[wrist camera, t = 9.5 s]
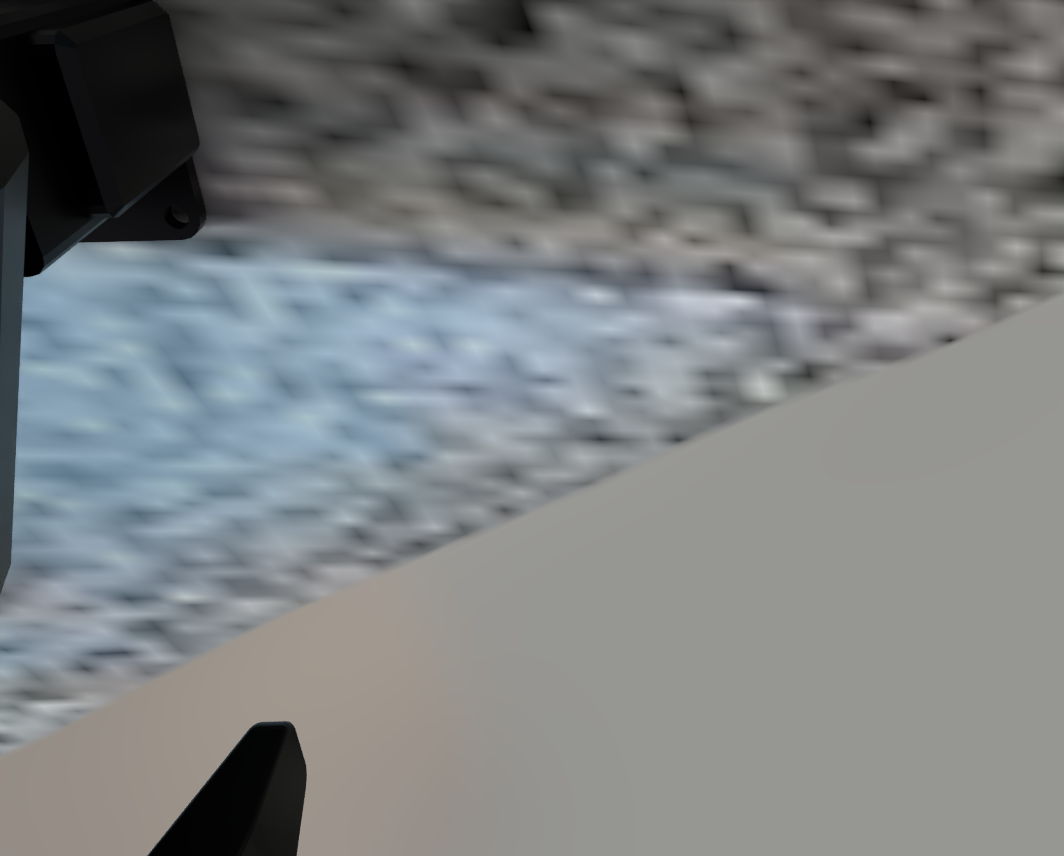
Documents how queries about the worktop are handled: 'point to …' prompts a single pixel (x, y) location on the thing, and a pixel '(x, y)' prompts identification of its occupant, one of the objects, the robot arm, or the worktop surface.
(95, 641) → the worktop surface
